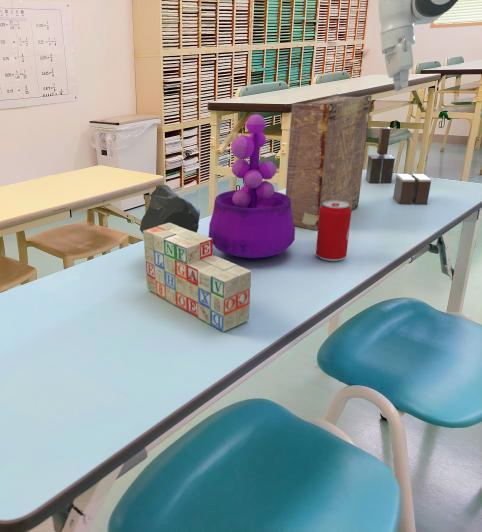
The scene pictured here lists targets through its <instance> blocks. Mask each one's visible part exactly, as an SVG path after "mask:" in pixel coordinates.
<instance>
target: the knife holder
mask: <svg viewBox="0 0 482 532" xmlns="http://www.w3.org/2000/svg"><path fill="white" fill-rule="evenodd" d="M367 156H368V157H367V163H366V164H367V165H366V171H365V180H366V181H367V182H368V183H369V184H392V181H393V176H394V175H393V174H394V169H395V160H396V158H395V157H394V156H392V155H391V154H384V161H383V169H382V176H381V183H379V180H380V173H381V165H382V158H381V157H380V156H379V154H368V155H367Z"/></svg>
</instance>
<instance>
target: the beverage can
mask: <svg viewBox="0 0 482 532" xmlns="http://www.w3.org/2000/svg"><path fill="white" fill-rule="evenodd" d="M351 219H352V211H351V209H350V206H349V203H348V202H345V201H339V200H329V201H325V202H323V205H322V207H321V208H320V212H319V223H318V230H317V234H316V235H317V236H316V245H315V246H316V247H315V255H316V256H317V257H319V258H320V259H321V260H323V261H327V262H339V261H341V260H343V259H345V258H346V257H347V256H348V255H347V254H348V244H349V236H350V227H351Z"/></svg>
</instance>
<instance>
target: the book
mask: <svg viewBox="0 0 482 532" xmlns="http://www.w3.org/2000/svg"><path fill="white" fill-rule="evenodd" d="M371 103H372V94H367V95H361V96H341V95H339V94H338V93H335V94H330V95H325V96H320V97H315V98H311V99H306V100H302V101H298V102H293V103H292V104H291V110H290V111H291V113H290V126H289V142H288V154H287V155H288V157H287V170H286V184H285V195H286V196H288V197H289V198H290V200H291V210H292V218H293V223H294V227H299V228H302V229H303V228H304V229H307V230H313V231H318V223H319V212H320V208H321V207H322V205H323V202H325V201H329V200H339V201H345V202H348V203H349V206H350V209H351V212H352V210H353V211H354V210H356V209H358V208H359V203H360V194H361V185H362V177H363V171H364V162H365V161H364V160H365V154H366V153H365V152H366V146H367V145H366V144H367V136H368V129H369V121H370V114H371V113H370V112H371ZM357 207H358V208H357Z"/></svg>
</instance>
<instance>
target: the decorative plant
mask: <svg viewBox="0 0 482 532" xmlns="http://www.w3.org/2000/svg"><path fill="white" fill-rule="evenodd" d="M266 126H267V123H266V120H265V118H264V117H263V116H262V115H260V114H252V115H250V116H249V117H248V118H247V120H246V122H245V128H246V130H247V132H249V133H250V134H249V136H248V135H245V134H241V135H240V136H237V137H236V138H234V140H232V143H231V145H230V150H231V153H232V155H233V156H234V157H235V158H237V160H235V161H234V162H233V163H232V165H231V172H232V174H233V175H234V176H235V178H239V179H240V178H243V183H244V185H243V186H241V188H240V189H235V190H228V191H225V192H221V193H219V194H217V196H215V198H214V203H213V210H212V214H211V218H210V221H209V226H208V237H209V238H212V240H213V247H215V248H216V249H217V250H218V251H219V252H221V253H224V254H226V255H230V256H235V257H239V258H245V259H260V258H268V257H272V256H276V255H279V254H281V253H284V252H286V250H287V249H289V248H290V247H291V246H292V244H293V243H294V242H295V240H296V228H295V227H296V226H294V223H293V218H292V210H291V200H290V198H289V197H288V196H286V193H282V192H279V191H275V187H274V185H273V183H271V182H269V181H268V180H272V179H273V177H274V176H275V175H276V174H277V170H278V169H277V166H276V164H275V163H274V162H272V161H270V160H266V161H262V162H261V163H260V148H262V147H264V146H265V145H266V143H267V138H266V135H265V133H264V132H263V131H264V130H265V128H266ZM246 159H249V162H248V161H247V160H246Z"/></svg>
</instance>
